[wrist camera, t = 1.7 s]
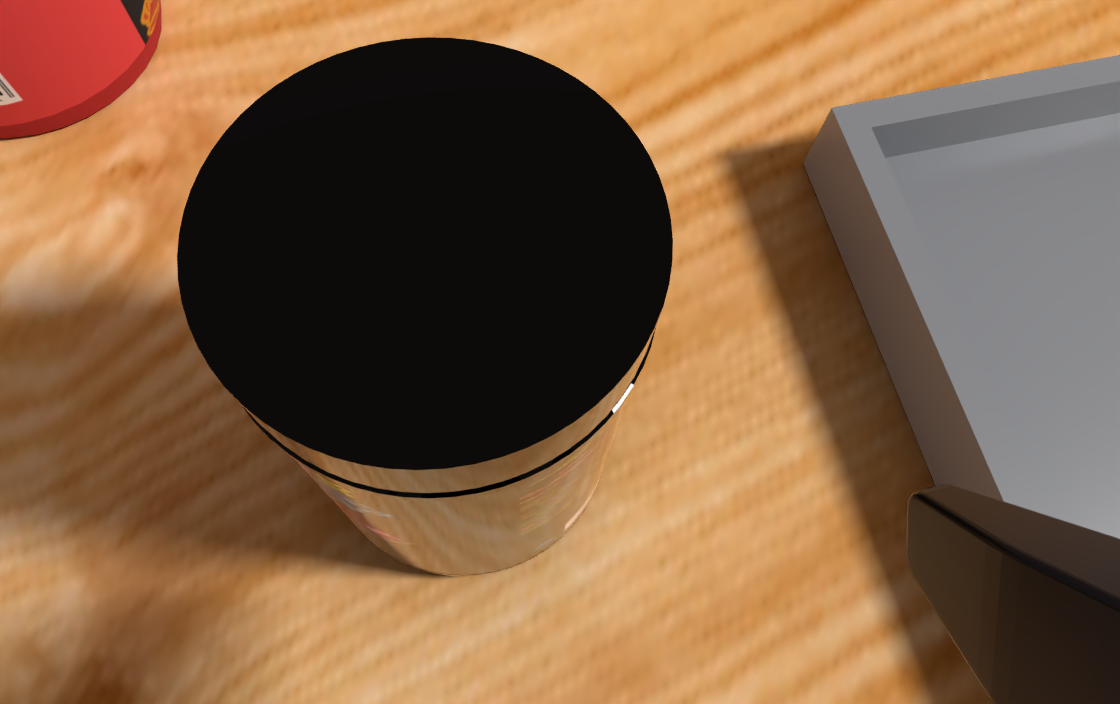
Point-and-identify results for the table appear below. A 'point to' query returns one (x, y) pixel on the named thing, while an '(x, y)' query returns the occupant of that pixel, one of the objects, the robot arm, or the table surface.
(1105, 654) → the robot arm
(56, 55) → the canned food
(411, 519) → the supplement container
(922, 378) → the tray
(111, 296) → the table surface
